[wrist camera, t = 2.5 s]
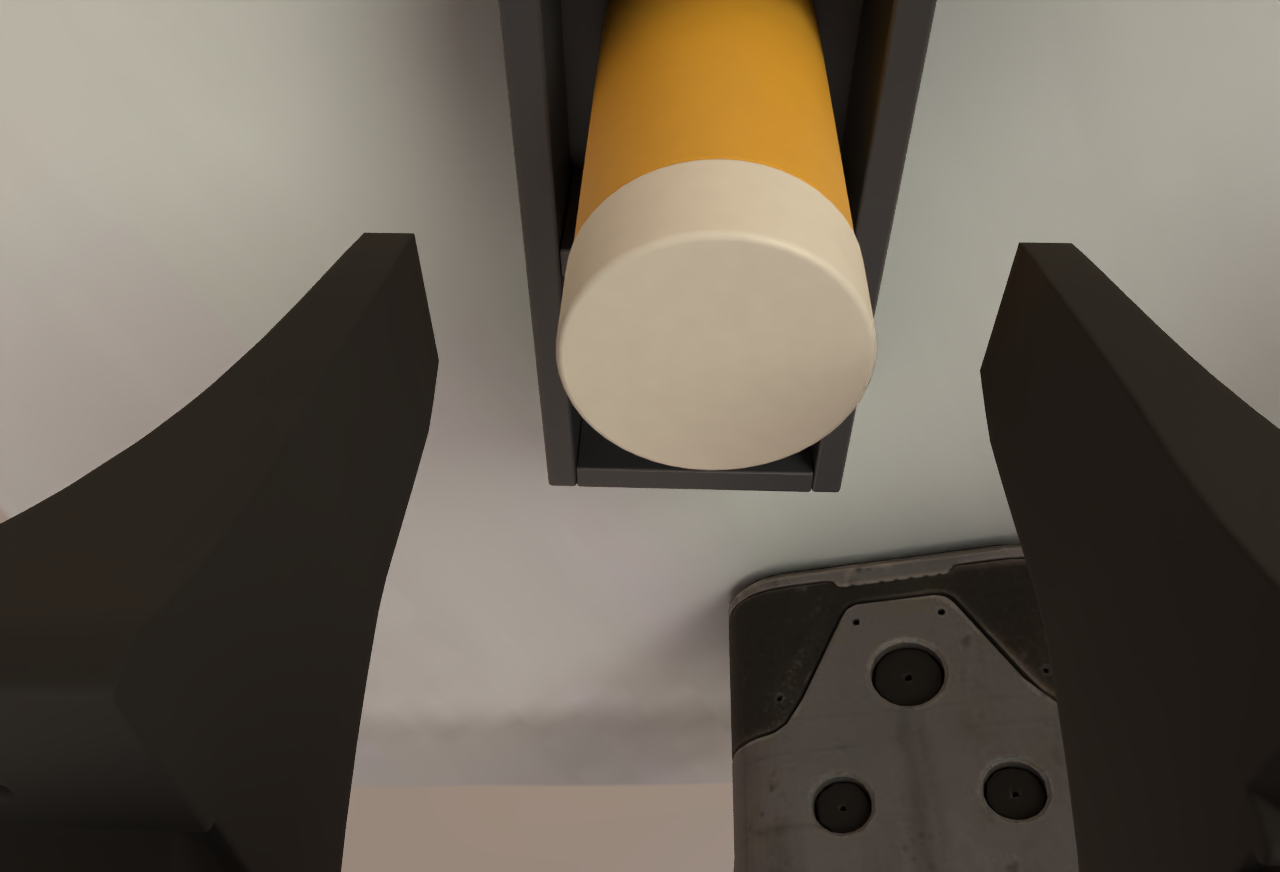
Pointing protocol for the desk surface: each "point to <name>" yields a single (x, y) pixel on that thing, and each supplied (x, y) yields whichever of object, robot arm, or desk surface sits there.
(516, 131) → the organizer
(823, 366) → the pill bottle
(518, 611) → the desk surface
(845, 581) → the electronic device
